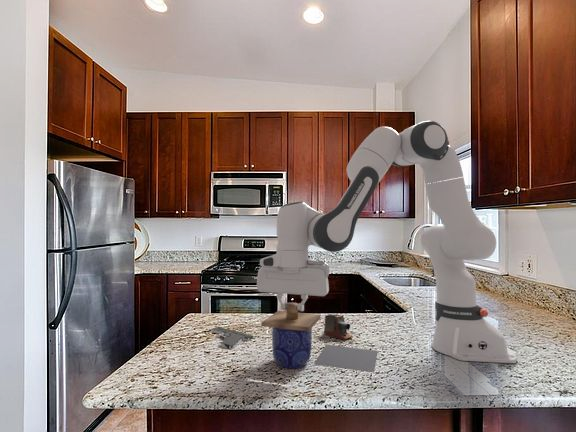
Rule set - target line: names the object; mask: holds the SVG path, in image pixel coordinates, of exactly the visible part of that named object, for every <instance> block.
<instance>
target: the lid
mask: <svg viewBox="0 0 576 432" xmlns="http://www.w3.org/2000/svg"><path fill="white" fill-rule="evenodd" d="M298 304H299V303H297V302H287V309H286V310H278V311H276V312H274V313H273V314H271V315H270V316H268V317H267V318H266V319H265V320H262V321H261V323H260V326H261V327H263V328H264V327H265V328H272V327H273V328H283V329H292V330H301V331H309V330H310V329H311V328H312V329H313V327H314V326H315V325H316V324H317V323H318V322H319V320H320V319H321V317H322V315H321V314H317V313H308V312H307V313H306V312H299V311H297V305H298Z"/></svg>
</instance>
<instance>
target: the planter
mask: <svg viewBox="0 0 576 432" xmlns="http://www.w3.org/2000/svg"><path fill="white" fill-rule="evenodd" d="M271 328H272V329H271V330H272V331H271V347H272V348H271V349H272V355H273V356H272V357H273V359H274V361H275V363H276V364H277V365H278V366H280V367H281V368H284V369H291V370H293V369H300V368H303V367H304V366H306V365H307V364H308V362H309V360H310V358H311V353H312V344H313V342H312V340H313V339H312V337H313V336H312V334H313V333H312V329H313V327H312V328H311V329H310V330H309V331H301V330H292V329H283V328H273V327H271Z"/></svg>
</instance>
